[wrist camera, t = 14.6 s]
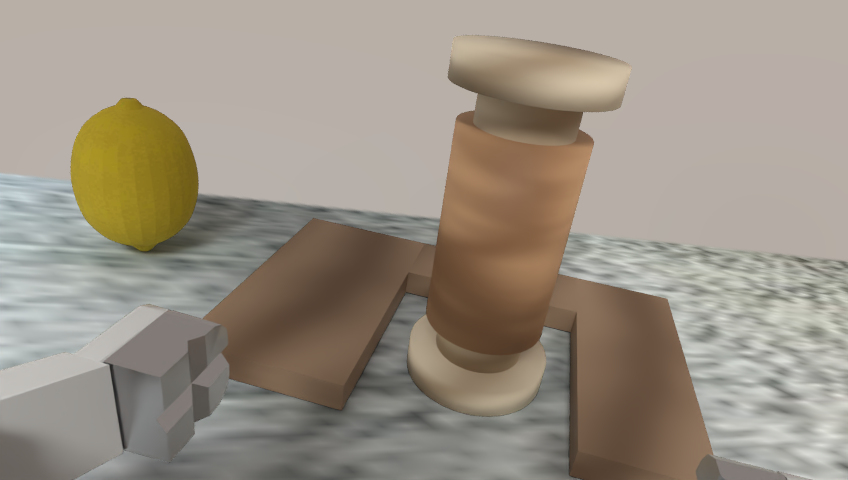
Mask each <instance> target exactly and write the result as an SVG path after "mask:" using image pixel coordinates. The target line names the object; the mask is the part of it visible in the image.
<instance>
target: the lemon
mask: <svg viewBox="0 0 848 480" xmlns="http://www.w3.org/2000/svg"><path fill="white" fill-rule="evenodd" d="M71 182H72V187H73V191H74V195H75V198H76V201H77V203H78V206H79V208H80V210H81V212H82V214H83V216H84V217H85V219H86V220H87V222H88V223H89V224H90V225H91V226H92V227H93V228H94V229H95V230H97V231H98V232H99V233H100V234H102V235H103V236H104V237H106V238H108V239H110V240H112V241H115V242H117V243H120V244H125V245H131V246H133V247H135V248H136V249H138V250H140V251H149V250H151V249H152V248H153V247H155V246H156V245H157V243H160V242H163V241H166V240H167V239H169V238H171V237H173V236H174V235H176V234H177V233H178V232H179V231H180V230H181V229H182V228H183V227H184V226H185V225H186V224H187V222H188V221H189V219H190V218H191V216H192V213H193V211H194V208H195V205H196V201H197V196H198V172H197V167H196V162H195V159H194V156H193V153H192V150H191V147H190V145H189V143H188V140H187V138H186V136H185V135H184V133H183V132H182V130H181V129H180V128H179V127H178V126H177V125H176V124H175V123H174V122H173V121H172V120H171V119H169V118H168V117H167V116H165V115H164V114H162V113H160V112H159V111H157V110H154V109H152V108H150V107H147V106H143V105H142V104H141V103H140V102H139V101H138V100H137V99H135V98H122V99H120V100H119V102H118V103H117V104H116V105H114V106H111V107H108V108H106V109H103V110H101V111H100V112H98V113H97V114H95V115H94V116H92V117H91V118H90V119H89V120H88V121H86V123H85V124H84V125H83V126H82V128H81V129H80V131H79V133H78V135H77V137H76V139H75V142H74V146H73V150H72V157H71Z"/></svg>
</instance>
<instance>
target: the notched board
mask: <svg viewBox="0 0 848 480" xmlns="http://www.w3.org/2000/svg"><path fill="white" fill-rule="evenodd" d="M435 250H436V246H433V245H429V244H424V243H420V242H416V241H411V240H407V239H402V238H398V237H394V236H389V235H385V234H381V233H376V232H372V231H367V230H363V229H359V228H354V227H350V226H345V225H341V224H337V223H332V222H328V221H324V220H319V219H315V218H313V219H312V220H311V221H310V222H309V223H308V224H307V225H305V226H304V227H303V228H302V229H301V230H300V231H299V232H298V233H297V234H296V235H294V236H293V237H292V238H291V239H290V240H289V241H288V242H287V243H286V244H284V245H283V246H282V247H281V248H280V249H279V250H278V251H277V252H276V253H275V254H273V255H272V256H271V257H270V258H269V259H268V260H267V261H266V262H265V263H263V264H262V265H261V266H260V267H259V268H258V269H257V270H256V271H255V272H253V273H252V274H251V275H250V276H249V277H248V278H247V279H246V280H245V281H244V282H242V283H241V284H240V285H239V286H238V287H237V288H236V289H235V290H234V291H232V292H231V293H230V294H229V295H228V296H227V297H226V298H225V299H224V300H223V301H221V302H220V303H219V304H218V305H217V306H216V307H215V308H214V309H213V310H211V311H210V312H209V313H208V314H207V315H206V316H205V317H204V318H203V319H204V320H207V321H211V322H214V323H218V324H221V325H222V326H224V327H225V328H226V329H227V335H228V345H227V346H226V347H225V349H224V350H223V351H222V352H221V353H222V355H223V356H224V358H225V359H226V361H227V362H228V364H229V379H233V380H236V381H240V382H243V383H247V384H250V385H254V386H257V387H261V388H264V389H268V390H271V391H275V392H278V393H282V394H285V395H289V396H292V397H296V398H299V399H303V400H306V401H310V402H313V403H317V404H320V405H324V406H327V407H331V408H334V409H338V410H341V411H342V409H343V407H344V405H345V403H346V401H347V400H348V398H349V396H350V394H351V392H352V390H353V388H354V387H355V385H356V383H357V381H358V379H359V377H360V376H361V374H362V372H363V370H364V368H365V366H366V365H367V363H368V361H369V359H370V357H371V355H372V353H373V352H374V350H375V348H376V346H377V344H378V342H379V341H380V339H381V337H382V335H383V333H384V331H385V330H386V328H387V326H388V324H389V322H390V320H391V318H392V317H393V315H394V313H395V311H396V309H397V307H398V306H399V304H400V302H401V300H402V298H403V296H404V295H405V293H406V292H407V293H412V294H416V295H420V296H424V297H428V295H429V289H430V282H431V276H432V269H433V263H434V257H435ZM544 326H547V327H551V328H555V329H559V330H563V331H567V332H571V345H570V463H569V476H573V477H576V478H580V479H583V480H697V476H696V472H695V471H696V469H697V467H698V465H699V463H700V461H701V459H702V458H704V457H705V456H706V455H707V454H710V455H713V452H712V448H711V445H710V441H709V438H708V435H707V431H706V428H705V425H704V421H703V418H702V414H701V411H700V408H699V404H698V401H697V398H696V394H695V391H694V387H693V384H692V381H691V377H690V374H689V371H688V367H687V364H686V360H685V357H684V354H683V350H682V347H681V344H680V340H679V337H678V333H677V330H676V327H675V323H674V320H673V317H672V313H671V310H670V306H669V303H668V300H667V299H666V298H661V297H657V296H652V295H648V294H644V293H639V292H635V291H630V290H626V289H622V288H617V287H613V286H609V285H604V284H600V283H595V282H591V281H587V280H582V279H578V278H573V277H569V276H565V275H560V274H558V276H557V279H556V283H555V287H554V290H553V294H552V297H551V301H550V305H549V308H548V312H547V315H546V319H545V323H544Z"/></svg>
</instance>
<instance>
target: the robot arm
mask: <svg viewBox="0 0 848 480" xmlns="http://www.w3.org/2000/svg"><path fill="white" fill-rule="evenodd" d="M227 345H228V335H227V329H226V328H225V327H224V326H222V325H221V324H218V323H214V322H211V321H207V320H204V319H201V318H197V317H194V316H190V315H187V314H183V313H180V312H177V311H171V310H168V309H164V308H161V307H158V306H154V305H151V304H146V305H140V306H139V307H137V308H136V309H134V310H133V311H132V312H130V313H129V314H128V315H126V316H125V317H124V318H122V319H121V320H119V321H118V322H117V323H115V324H114V325H113V326H111V327H110V328H108V329H107V330H106V331H104V332H103V333H102V334H100V335H99V336H98V337H96V338H95V339H93V340H92V341H91V342H89V343H88V344H87V345H85V346H84V347H83V348H81V349H80V350H78V351H77V352H76V353H74V354H71V353H67V352H64V353H60V354H57V355H53V356H50V357H46V358H42V359H39V360H35V361H32V362H28V363H25V364H21V365H18V366H14V367H11V368H7V369H4V370H0V480H74V479H75V478H77V477H79V476H81V475H83V474H85V473H87V472H89V471H91V470H92V469H94V468H96V467H98V466H100V465H102V464H104V463H106V462H107V461H109V460H111V459H113V458H115V457H117V456H119V455H121V454H123V452H124V451H123V450H125V451H129V452H132V453H136V454H139V455H143V456H146V457H150V458H154V459H157V460H161V461H164V462H168V463H170V462H171V461H172V460H173V459H174V458H175V457H176V455H177V454H178V453H179V452H180V451H181V450H182V448H183V447H184V446H185V445H186V444H187V442H188V441H189V440H190V439H191V438H192V437H193V435H194V434H195V427H194V422H196V421H199V420H201V419H203V418H206V417H208V416H210V415H211V414H212V413H213V411H214V410H215V409H216V408H217V406H218V405H219V404H220V402H221V400H222V398H223V396H224V394H225V391H226V389H227V386H228V380H229V364H228V362H227V361H226V359H225V358H224V356H223V355H222V353H221V352H222V351H223V350H224V349H225V347H226V346H227ZM695 472H696V476H697V480H811V479H807V478H803V477H799V476H795V475H791V474H787V473H783V472H775V471H772V470H768V469H764V468H761V467H757V466H753V465H749V464H745V463H741V462H737V461H734V460H730V459H726V458H722V457H718V456H714V455H710V454H707V455H706V456H705V457H704V458H702V459H701V461H700V463H699V465H698V467H697V469H696V471H695Z"/></svg>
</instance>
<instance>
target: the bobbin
mask: <svg viewBox="0 0 848 480" xmlns="http://www.w3.org/2000/svg"><path fill="white" fill-rule="evenodd" d="M631 70H632V66H631V65H629V64H628V63H626V62H624V61H621V60H618V59H616V58H612V57H609V56H605V55H602V54H598V53H594V52H590V51H585V50H581V49H576V48H571V47H567V46H561V45H556V44H550V43H544V42H538V41H530V40H523V39H515V38H507V37H496V36H481V35H463V36H456V37H454V38H453V43H452V50H451V57H450V65H449V71H448V79H449V80H450V81H451V82H453V83H454V84H456V85H458V86H460V87H462V88H464V89H467V90H469V91H472V92H475V93H478V95H477V101H476V107H475V111H469V112H464V113H461V114H460V115H458V116H457V118H456V122H455V129H454V135H453V141H452V148H451V154H450V161H449V167H448V173H447V180H446V186H445V193H444V199H443V206H442V212H441V218H440V225H439V231H438V237H437V244H436V250H435V257H434V263H433V269H432V276H431V282H430V289H429V295H428V301H427V308H426V314H425V315H424V316H422V317H421V318H420V319H419V320H418V321H417V322H416V323H415V325H414V326H413V328H412V331H411V334H410V341H409V348H408V355H407V367H408V371H409V374H410V376H411V378H412V380H413V381H414V383H415V384H416V386H417V387H418V388H419V389H420V390H421V391H422V392H423V393H424V394H425V395H427V396H428V397H429V398H431V399H432V400H434V401H435V402H437V403H439V404H440V405H442V406H444V407H447V408H449V409H451V410H454V411H457V412H460V413H464V414H469V415H474V416H486V417H492V416H502V415H507V414H511V413H514V412H517V411H519V410H521V409H523V408H524V407H526V406H527V405H529V404H530V403H531V402H532V401H533V399H534V398H535V397H536V395H537V393H538V390H539V387H540V384H541V380H542V377H543V373H544V370H545V366H546V355H545V351H544V348H543V346H542V344H541V343H540V341H539V339H540V337H541V334H542V330H543V326H544V323H545V319H546V315H547V312H548V308H549V305H550V301H551V297H552V294H553V290H554V287H555V283H556V279H557V276H558V272H559V268H560V265H561V261H562V258H563V254H564V250H565V247H566V243H567V239H568V236H569V232H570V229H571V225H572V221H573V218H574V214H575V210H576V207H577V203H578V199H579V196H580V192H581V189H582V185H583V181H584V178H585V174H586V170H587V167H588V163H589V160H590V156H591V152H592V149H593V145H594V141H593V139H592V138H591V137H590V136H589V135H588V134H586V133H585V132H583V131H581V130H579V127H580V123H581V119H582V115H583V112H606V111H613V110H616V109H618V108H620V107H621V104H622V101H623V97H624V94H625V90H626V87H627V83H628V80H629V76H630V72H631Z"/></svg>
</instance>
